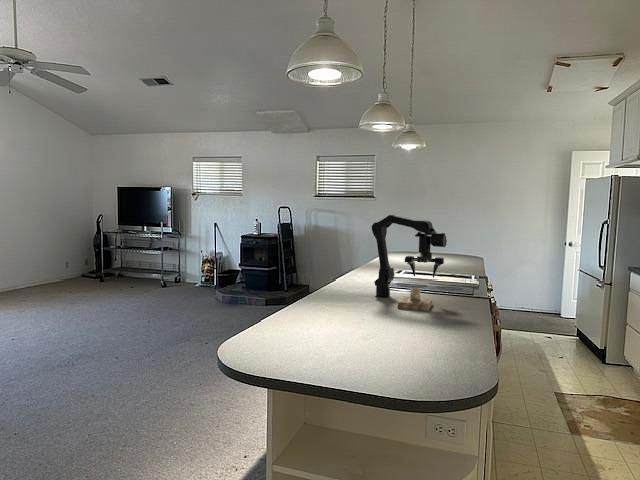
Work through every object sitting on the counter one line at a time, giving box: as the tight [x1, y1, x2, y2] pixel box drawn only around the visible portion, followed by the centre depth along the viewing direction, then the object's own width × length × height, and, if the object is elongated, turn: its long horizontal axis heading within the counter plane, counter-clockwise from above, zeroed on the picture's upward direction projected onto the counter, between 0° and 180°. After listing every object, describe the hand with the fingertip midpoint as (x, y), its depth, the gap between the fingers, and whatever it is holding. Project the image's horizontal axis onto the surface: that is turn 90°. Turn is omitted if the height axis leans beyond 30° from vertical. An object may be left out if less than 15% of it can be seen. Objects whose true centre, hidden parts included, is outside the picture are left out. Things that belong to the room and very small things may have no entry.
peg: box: [409, 287, 421, 302], centre depth 215 cm, size 5×5×8 cm
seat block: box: [397, 295, 433, 312], centre depth 216 cm, size 14×14×3 cm
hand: (423, 277), depth 225 cm, fingers open, 9 cm apart
